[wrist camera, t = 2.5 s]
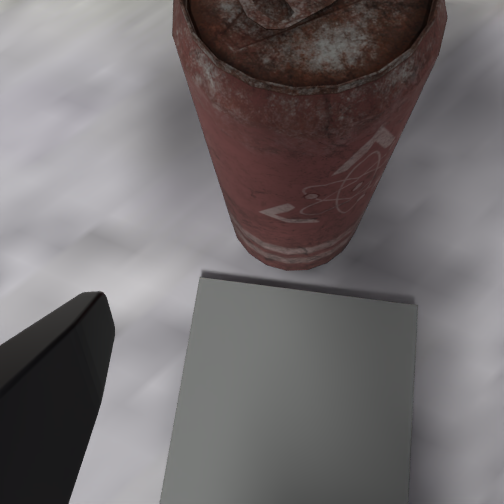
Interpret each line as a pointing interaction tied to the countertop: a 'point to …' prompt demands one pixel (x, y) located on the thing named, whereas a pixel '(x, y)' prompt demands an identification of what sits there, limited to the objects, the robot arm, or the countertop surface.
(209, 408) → the mat
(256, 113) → the can
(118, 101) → the countertop surface
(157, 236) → the countertop surface
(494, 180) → the countertop surface
